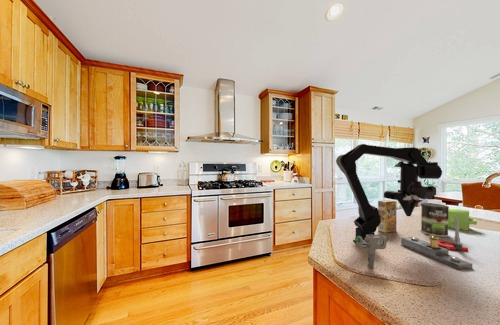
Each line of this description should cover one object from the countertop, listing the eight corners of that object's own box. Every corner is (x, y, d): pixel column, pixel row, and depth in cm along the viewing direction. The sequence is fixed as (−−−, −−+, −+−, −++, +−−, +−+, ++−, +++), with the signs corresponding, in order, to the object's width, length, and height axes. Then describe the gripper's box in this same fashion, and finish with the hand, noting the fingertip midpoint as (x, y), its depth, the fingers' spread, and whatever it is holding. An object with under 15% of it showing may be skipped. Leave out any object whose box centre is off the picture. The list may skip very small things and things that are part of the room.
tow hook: (430, 242, 90) (447, 250, 81) (429, 213, 91) (446, 217, 82) (451, 244, 89) (471, 252, 80) (451, 214, 90) (470, 218, 80)
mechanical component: (353, 264, 68) (353, 234, 68) (382, 264, 69) (382, 234, 69) (358, 269, 65) (359, 238, 65) (389, 268, 66) (389, 237, 66)
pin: (434, 257, 74) (434, 238, 74) (426, 254, 77) (427, 235, 77) (440, 257, 75) (441, 238, 75) (432, 253, 77) (433, 235, 78)
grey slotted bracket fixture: (458, 269, 66) (458, 257, 66) (401, 244, 86) (401, 235, 86) (472, 268, 67) (472, 256, 67) (412, 243, 87) (412, 234, 87)
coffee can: (453, 238, 95) (453, 207, 95) (425, 235, 99) (425, 205, 99) (442, 231, 104) (442, 204, 104) (417, 228, 108) (417, 202, 108)
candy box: (385, 233, 100) (386, 202, 100) (377, 230, 104) (377, 200, 104) (396, 231, 104) (397, 200, 104) (388, 228, 108) (388, 199, 108)
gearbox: (429, 225, 117) (429, 209, 117) (432, 221, 123) (432, 206, 123) (476, 233, 103) (476, 214, 103) (477, 228, 109) (476, 211, 109)
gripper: (407, 179, 75) (406, 222, 75) (449, 179, 78) (449, 221, 78) (383, 177, 86) (382, 214, 86) (420, 177, 89) (420, 213, 89)
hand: (408, 216), depth 84 cm, fingers closed
